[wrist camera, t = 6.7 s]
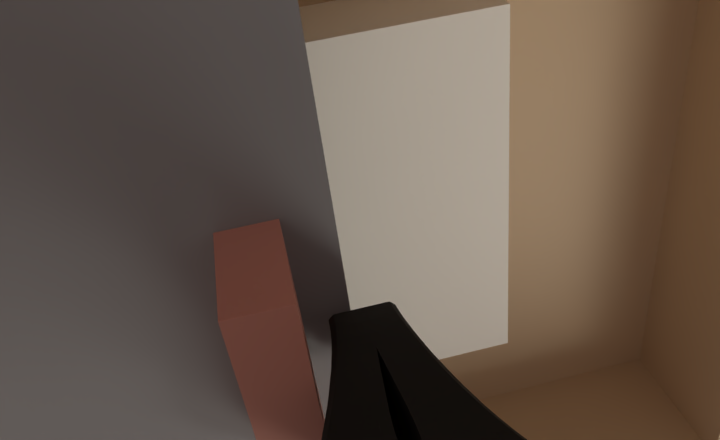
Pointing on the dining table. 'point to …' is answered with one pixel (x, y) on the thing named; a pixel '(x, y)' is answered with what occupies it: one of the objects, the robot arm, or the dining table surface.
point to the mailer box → (535, 199)
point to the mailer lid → (163, 223)
